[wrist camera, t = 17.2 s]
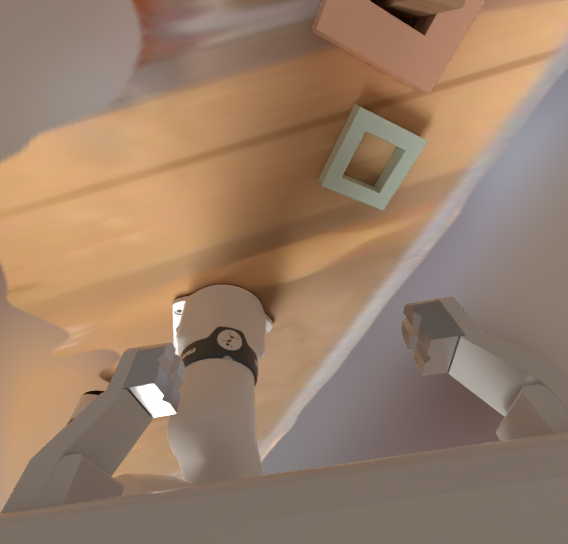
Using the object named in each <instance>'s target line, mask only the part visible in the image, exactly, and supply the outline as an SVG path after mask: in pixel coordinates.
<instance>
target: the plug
mask: <svg viewBox="0 0 568 544" xmlns="http://www.w3.org/2000/svg"><path fill="white" fill-rule="evenodd" d="M465 1H466V0H378V2H377V6H379V7H380V8H382V9H383V10H385V11H387V12H388V13H390V14H391V15H395V16H399V17H402V18H406V19H415V18H419V17H424V16H428V15H433V14H437V13H442V12H446V11H451V10H455V9H460V8H463V6H464V4H465Z"/></svg>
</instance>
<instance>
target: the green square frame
mask: <svg viewBox="0 0 568 544" xmlns="http://www.w3.org/2000/svg"><path fill="white" fill-rule="evenodd" d="M365 132H368V133H370V134H372V135H374V136H377V137H379V138H381V139H383V140H385V141H387V142H389V143H391V144H393V145H395V146H397V148H396V150H395V152H394V153H393V155H392V157H391V158H390V160H389V162H388V163H387V165H386V167H385V168H384V170H383V172H382V173H381V175H380V177H379V178H378V180H377V182H376V183H375V185H374V187H373V186H371V185H368V184H366V183H364V182H361V181H359V180H357V179H354V178H352V177H349V176H347V175H345V174H344V172H345V170H346V168H347V166H348V164H349V162H350V161H351V159H352V157H353V155H354V153H355V151H356V149H357V147H358V145H359V143H360V142H361V140H362V138H363V136H364V134H365ZM427 142H428V141H427V140H425V139H423V138H421V137H419V136H417V135H415V134H413V133H412V132H410V131H408V130H406V129H404V128H402V127H400V126H398V125H396V124H394V123H392V122H390V121H388V120H386V119H384V118H382V117H380V116H378V115H376V114H374V113H372V112H370V111H368V110H366V109H364V108H362V107H360V106H358V105H356V104H354V106H353V108H352V110H351V112H350V114H349V116H348V118H347V121H346V123H345V125H344V127H343V129H342V131H341V133H340V135H339V137H338V139H337V141H336V143H335V145H334V148H333V150H332V152H331V154H330V156H329V158H328V160H327V162H326V164H325V166H324V168H323V170H322V172H321V174H320V177H319V179H318V181H319V183H320V185H321V186H322V187H325V188H327V189H330V190H332V191H335V192H337V193H340V194H342V195H345V196H347V197H350V198H352V199H355V200H357V201H360V202H362V203H365V204H367V205H370V206H373V207H375V208H378V209H380V210H384V209H385V207H386V206H387V204H388V202H389V201H390V199H391V198H392V196H393V195H394V193H395V192H396V190H397V189H398V187H399V186H400V184H401V182H402V181H403V179H404V178H405V176H406V175H407V173H408V172H409V170H410V169H411V167H412V165H413V164H414V162H415V161H416V159H417V158H418V156H419V155H420V153H421V152H422V150H423V149H424V147H425V145H426V144H427Z"/></svg>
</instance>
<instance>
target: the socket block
mask: <svg viewBox="0 0 568 544" xmlns="http://www.w3.org/2000/svg"><path fill="white" fill-rule="evenodd" d="M485 1H486V0H466V1H465V4H464V6H463V8H460V9H455V10H451V11H446V12H442V13H437V14H433V15H428V16H424V17H419V18H418V20H417V22H416V23H415V25H414V27H413V28H412V27H410V26H409V25H407V24H405V23H404V22H402V21H401V20H399V19H398V18H396V17H394V16H393V15H391V14H390V13H388V12H387V11H385V10H383V9H382V8H380V7H379V6H377V5H376V4H374V3H372V2H371V1H370V0H321V2H320V5H319V8H318V11H317V13H316V16H315V19H314V22H313V24H312V27H311V30H310V32H312V33H314V34H315V35H317V36H319V37H321V38H322V39H324V40H326V41H328V42H330V43H331V44H333V45H335V46H337V47H339V48H340V49H342V50H344V51H346V52H347V53H349V54H351V55H353V56H355V57H356V58H358V59H360V60H362V61H363V62H365V63H367V64H369V65H371V66H372V67H374V68H376V69H378V70H380V71H381V72H383V73H385V74H387V75H388V76H390V77H392V78H394V79H396V80H397V81H399V82H401V83H403V84H404V85H406V86H408V87H410V88H412V89H413V90H417V91H421V92H425V93H429V94H430V93H431V91H432V89H433V88H434V86H435V84H436V83H437V81H438V79H439V78H440V76H441V74H442V73H443V71H444V69H445V68H446V66H447V64H448V63H449V61H450V59H451V58H452V56H453V54H454V53H455V51H456V49H457V48H458V46H459V44H460V43H461V41H462V39H463V38H464V36H465V34H466V33H467V31H468V29H469V28H470V26H471V24H472V23H473V21H474V19H475V18H476V16H477V14H478V13H479V11H480V9H481V8H482V6H483V4H484V3H485Z"/></svg>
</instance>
